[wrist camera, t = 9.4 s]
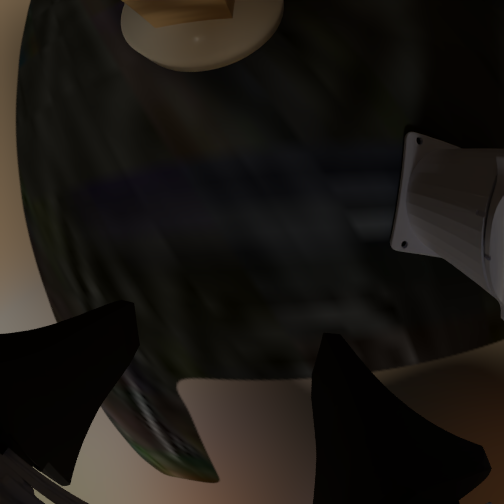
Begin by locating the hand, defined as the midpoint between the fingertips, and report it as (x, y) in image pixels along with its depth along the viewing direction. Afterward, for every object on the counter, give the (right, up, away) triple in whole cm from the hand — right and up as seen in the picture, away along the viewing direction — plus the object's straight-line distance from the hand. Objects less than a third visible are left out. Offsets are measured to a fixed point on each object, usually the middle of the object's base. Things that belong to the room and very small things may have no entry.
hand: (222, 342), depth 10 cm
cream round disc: (-2, +21, +4) cm, 21 cm away
